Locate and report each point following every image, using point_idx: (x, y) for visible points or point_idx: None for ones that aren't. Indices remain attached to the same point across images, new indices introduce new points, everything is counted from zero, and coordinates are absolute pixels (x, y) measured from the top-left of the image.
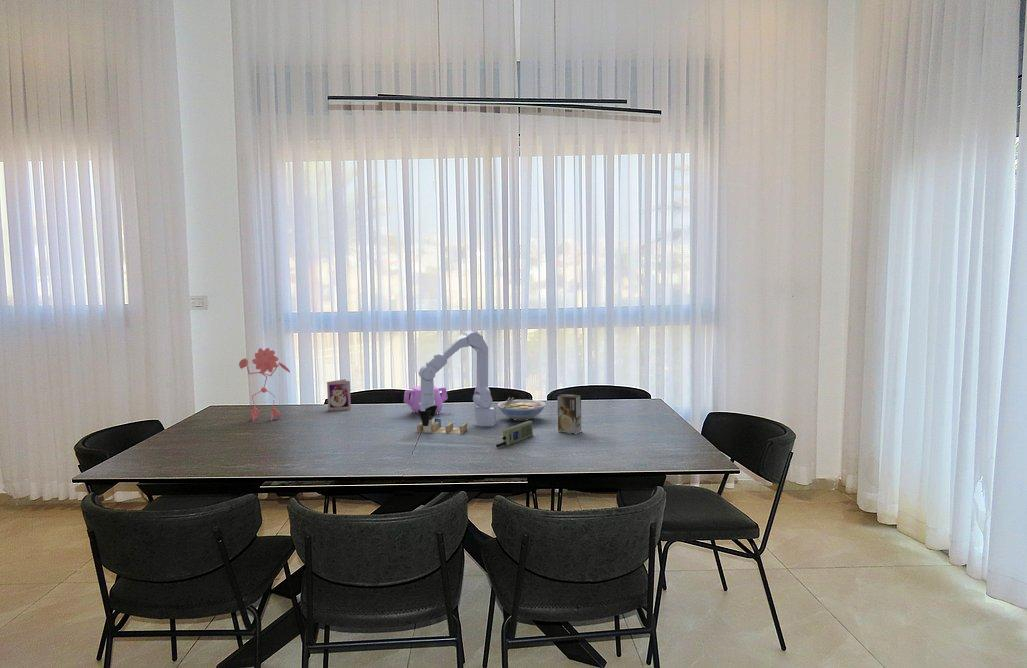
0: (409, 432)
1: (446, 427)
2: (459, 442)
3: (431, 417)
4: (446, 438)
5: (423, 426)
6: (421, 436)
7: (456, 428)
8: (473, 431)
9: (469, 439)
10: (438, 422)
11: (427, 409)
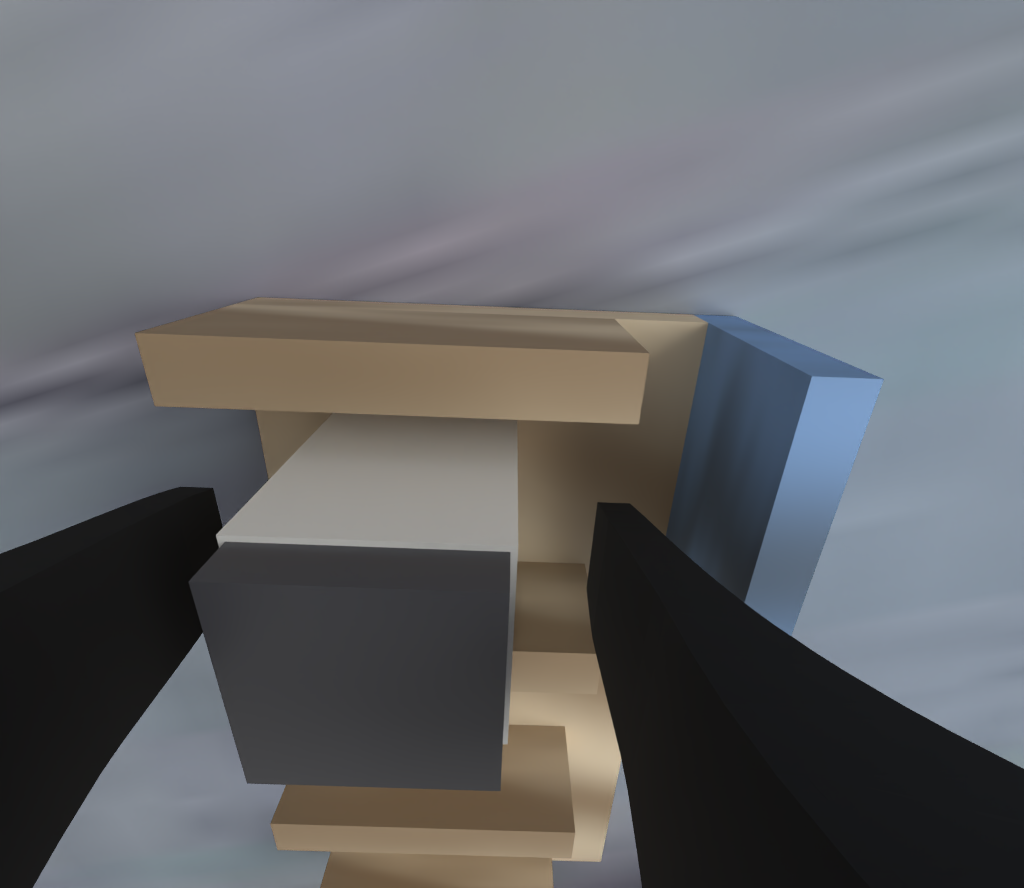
0: (383, 52)
1: (282, 811)
2: (89, 836)
3: (299, 770)
4: (188, 721)
5: (304, 446)
6: (158, 411)
7: (580, 776)
8: (554, 866)
9: (233, 878)
10: (546, 689)
11: (741, 848)
